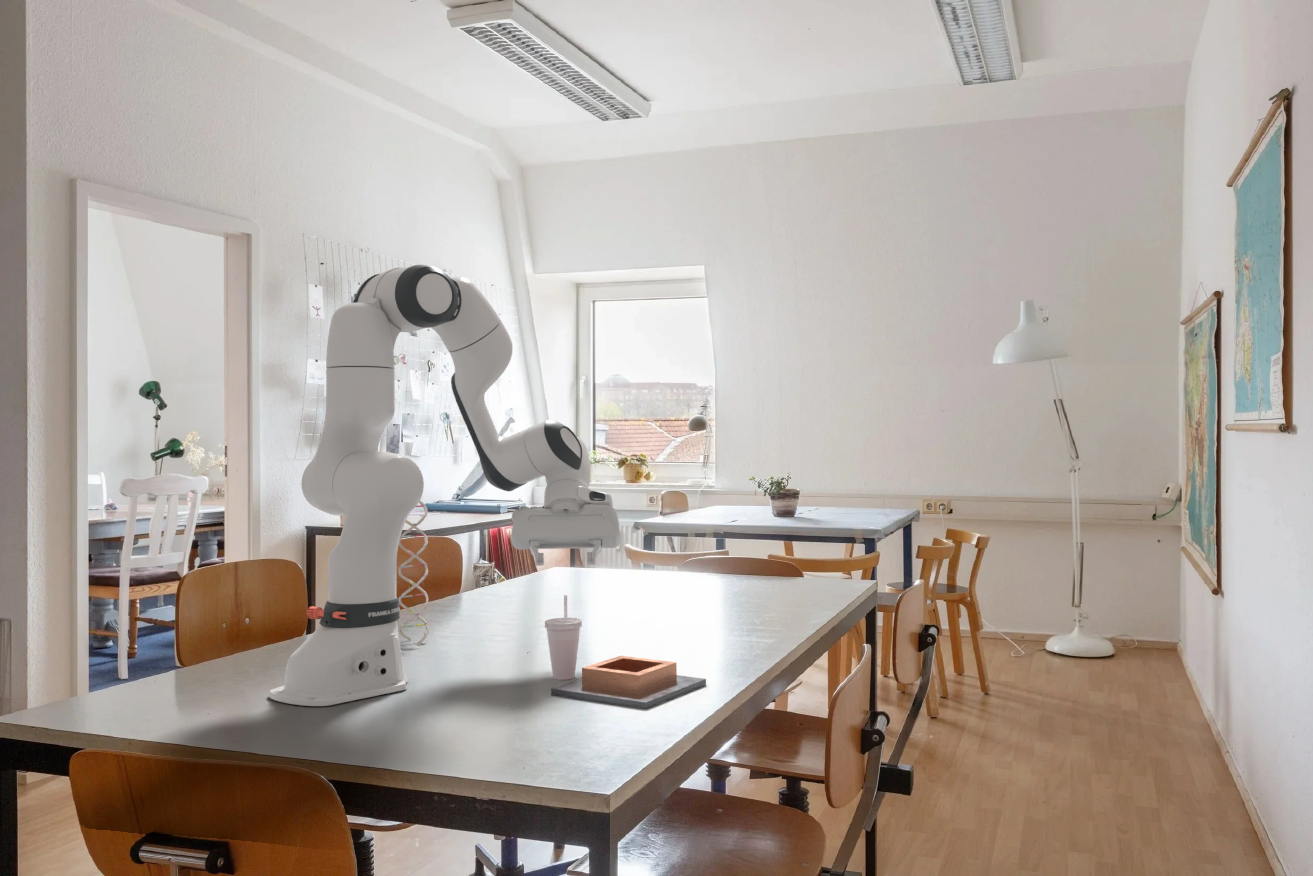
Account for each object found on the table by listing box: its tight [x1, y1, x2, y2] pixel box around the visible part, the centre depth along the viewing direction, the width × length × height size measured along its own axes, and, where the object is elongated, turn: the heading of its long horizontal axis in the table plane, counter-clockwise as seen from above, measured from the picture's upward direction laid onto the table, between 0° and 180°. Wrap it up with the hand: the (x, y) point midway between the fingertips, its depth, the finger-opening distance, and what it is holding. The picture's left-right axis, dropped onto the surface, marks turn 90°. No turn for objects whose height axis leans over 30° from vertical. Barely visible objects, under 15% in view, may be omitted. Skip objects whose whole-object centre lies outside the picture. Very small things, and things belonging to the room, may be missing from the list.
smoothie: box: [544, 594, 583, 681], centre depth 180 cm, size 6×6×14 cm
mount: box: [550, 655, 707, 710], centre depth 170 cm, size 18×18×4 cm
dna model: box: [397, 500, 430, 646], centre depth 213 cm, size 7×6×30 cm
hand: (565, 563), depth 192 cm, fingers open, 8 cm apart
